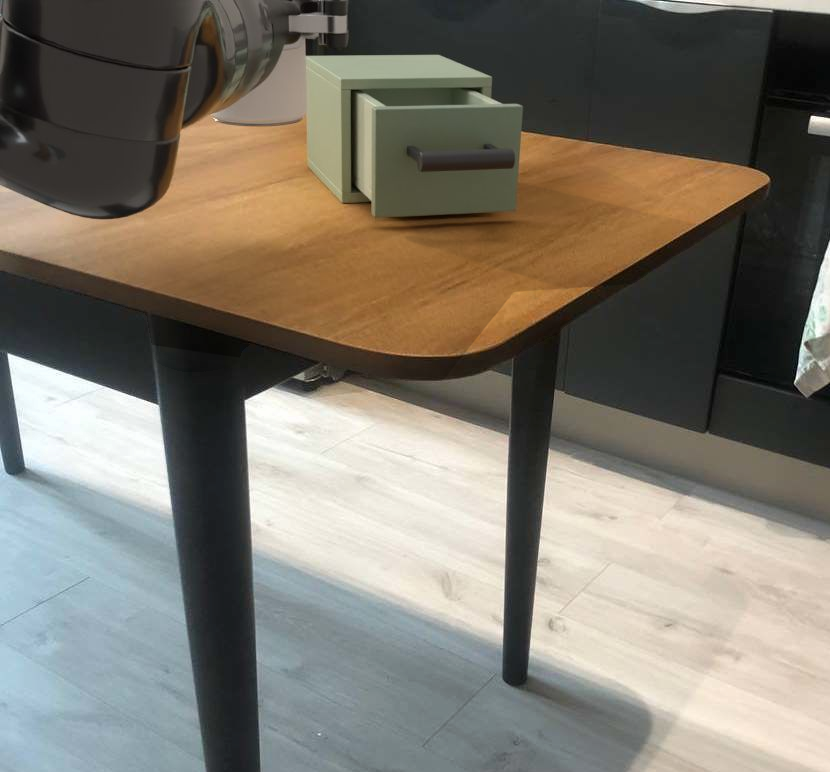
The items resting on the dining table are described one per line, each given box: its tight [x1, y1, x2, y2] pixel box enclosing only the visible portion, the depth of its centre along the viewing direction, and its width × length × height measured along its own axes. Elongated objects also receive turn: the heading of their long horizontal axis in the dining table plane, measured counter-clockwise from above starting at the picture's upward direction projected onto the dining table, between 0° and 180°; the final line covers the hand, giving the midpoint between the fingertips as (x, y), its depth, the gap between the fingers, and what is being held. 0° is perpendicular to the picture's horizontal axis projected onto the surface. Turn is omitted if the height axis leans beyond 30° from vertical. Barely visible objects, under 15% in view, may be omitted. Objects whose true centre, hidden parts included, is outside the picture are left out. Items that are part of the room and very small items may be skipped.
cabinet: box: [305, 54, 493, 204], centre depth 95 cm, size 15×13×10 cm
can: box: [209, 38, 307, 127], centre depth 69 cm, size 6×6×12 cm
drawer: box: [350, 88, 524, 219], centre depth 85 cm, size 18×11×8 cm, turn 16°
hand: (260, 7), depth 70 cm, fingers closed on can, 6 cm apart
